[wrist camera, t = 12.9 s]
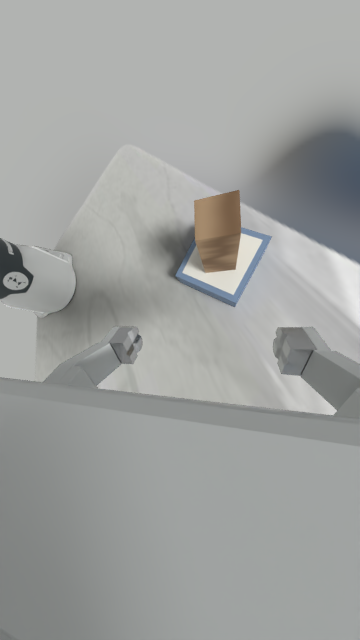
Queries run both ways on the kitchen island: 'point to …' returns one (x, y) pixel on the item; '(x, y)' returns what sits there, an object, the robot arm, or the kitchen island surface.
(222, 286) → the pedestal
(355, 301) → the kitchen island surface
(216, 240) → the walnut block
